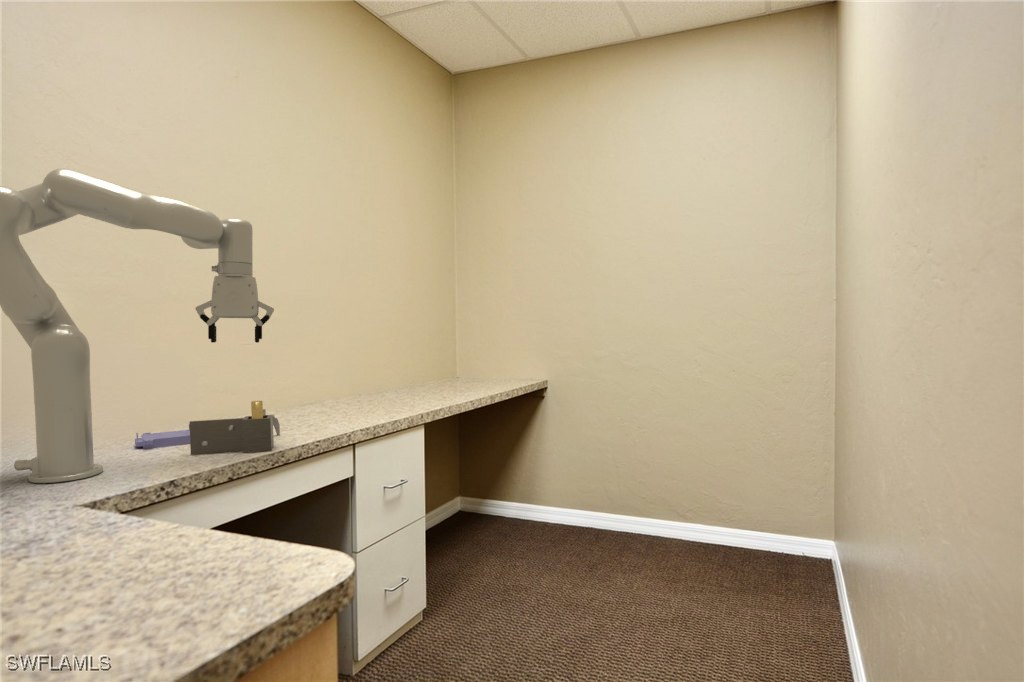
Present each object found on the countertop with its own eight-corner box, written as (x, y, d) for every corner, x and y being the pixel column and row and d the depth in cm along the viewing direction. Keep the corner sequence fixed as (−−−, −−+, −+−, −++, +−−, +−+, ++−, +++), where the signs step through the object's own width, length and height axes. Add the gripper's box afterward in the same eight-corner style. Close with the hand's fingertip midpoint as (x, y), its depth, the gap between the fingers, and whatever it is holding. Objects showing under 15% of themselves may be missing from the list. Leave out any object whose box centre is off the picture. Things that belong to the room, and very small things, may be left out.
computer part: (134, 444, 165) (136, 453, 152) (133, 428, 164) (135, 436, 152) (253, 431, 181) (263, 438, 168) (252, 416, 181) (262, 423, 168)
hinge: (188, 457, 144) (186, 423, 144) (203, 442, 161) (202, 412, 161) (271, 450, 149) (270, 418, 149) (277, 437, 167) (276, 408, 167)
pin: (252, 450, 150) (250, 402, 149) (253, 448, 152) (251, 401, 152) (263, 450, 150) (261, 401, 150) (264, 447, 153) (262, 400, 152)
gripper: (192, 268, 140) (192, 342, 141) (272, 271, 146) (272, 342, 146) (198, 271, 148) (198, 342, 148) (275, 274, 153) (275, 342, 153)
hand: (235, 342), depth 147 cm, fingers open, 9 cm apart
